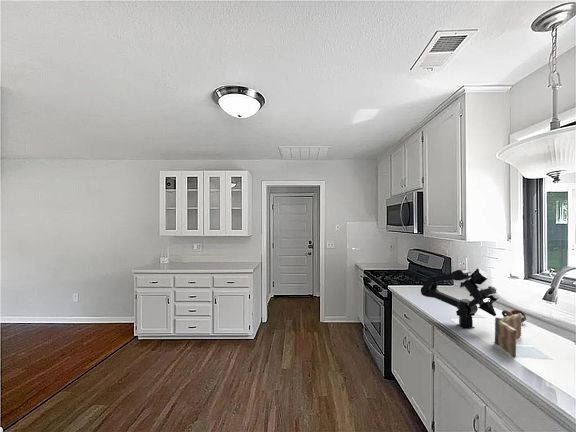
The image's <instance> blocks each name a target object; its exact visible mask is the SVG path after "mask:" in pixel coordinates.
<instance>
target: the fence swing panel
mask: <svg viewBox="0 0 576 432" xmlns="http://www.w3.org/2000/svg"><path fill="white" fill-rule="evenodd" d="M500 318H501V321H503V322H504V323H506V324H507V325H509V326H511V327H512V328H514V329H515V330H517V333H516V339H517V338H520V337H522V323H521V318H523V315H522V314H521V313H520V314H515V315H511V316H507V317H504V316H503V317H500Z"/></svg>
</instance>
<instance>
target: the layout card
mask: <svg viewBox="0 0 576 432" xmlns="http://www.w3.org/2000/svg"><path fill="white" fill-rule="evenodd" d="M491 343H492V344H493V346H495V347H497V348H498V349H499V350H500V351H501V352H503V353H504V354H505V355H506V356H507V357H512V358H514V357H513V356H511V355H510V354H509V353H508V352H506V351H505V350H504V349H503V348H501V347H500V346H499V345H497V344H495V341H493V342H492V341H491ZM515 358H524V359H525V358H526V359H527V358H529V359H541V360H551V361H552V360H554V359H553V358H551V357H550V356H549V355H547V354H545V353H544V352H542V351H541V350H539V349H538V348H536V347H535V346H533V345H531V344H525V343H516V357H515Z"/></svg>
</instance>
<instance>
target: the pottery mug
mask: <svg viewBox="0 0 576 432" xmlns="http://www.w3.org/2000/svg"><path fill="white" fill-rule="evenodd" d="M515 314H522V317H521V324H522V323H524V322H526V320H527V316H526V314H525V312H523V311H522V310H520V309H512V310H510V311H508V310H505V309H503V310H502V311H501V315H502V316H503V317H507V316H511V315H515Z"/></svg>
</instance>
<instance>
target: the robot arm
mask: <svg viewBox="0 0 576 432" xmlns="http://www.w3.org/2000/svg"><path fill="white" fill-rule="evenodd" d="M488 279H490V275H489V273H488V272H486V271H485V270H484V269H481V267H479V268H478V267H477V268H476V269H475V270H474V271H473V272H470V271H469V270H468V269H466V268H463V269H455V270H453V271H451V272H449V273H446V274H439V275H431V276H429V277H428V279H427V280H426V282H424V284H423V285H422V286H421V288H420V293H421V295H422V296H424V297H426V298H432V299H437V300H439V301H441V302H443V303H445V304H448V305H451V306H453V307H455V308H456V309H457V310H456V316H457V317H458V323H457V324H456V326H457V327H459V328H462V329H465V330H467V329H468V330H469V329H475V326H474V324H473V323H474V322H473V316H475V315H476V313H477V312H478V309H479V310H482V311H484V312H485V313H487V314H489V315H491V316H493V317H497V313H496V310H495V309H494V306H493V304H494V303H495V302H496V301H497V300H498V299H500V298H499V297H498V296H497V288H496V287H495V286H494V285H490V286H488V288H483V287H480V286H479V285H483V284H484V283H485V282H486V281H488ZM447 281H461V282H460V284H459V288H465V289H466V290H467V291H468V293H469V297H472V298H473V299H471V300H470V299H468V298H464V299H463V298H462V299H459V298H457V297H453V296H451V295H448V294H446V293H444V292H441V291H439V290H438V285H439V282H440V283H441V282H447Z"/></svg>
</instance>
